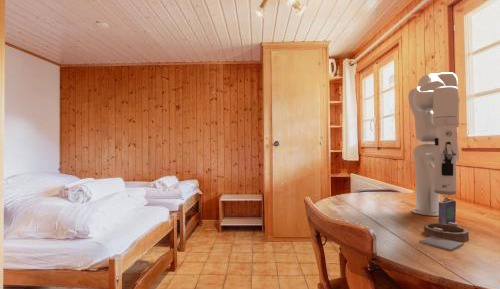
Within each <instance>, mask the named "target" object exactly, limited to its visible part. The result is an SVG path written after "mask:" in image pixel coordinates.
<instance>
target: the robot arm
mask: <svg viewBox="0 0 500 289" xmlns="http://www.w3.org/2000/svg"><path fill="white" fill-rule="evenodd" d="M458 84H459V81H458V76H457V75H456V74H455V73H454V72H450V71H449V72H439V73H428V74H425V75H423V76H422V77H420V78H419V80H418V85H417V87H414V88H412V89H410V90H409V92H408V98H407V99H408V104H409V108H410V110H411V112H412V114H413V117H414V128H415V129H414V130H415V138H416V141H417V142H418V143H421V144H419V145H416V146H415V147H414V149H413V154H412V155H413V160H414V161H413V162H414V167H415V168H414V169H415V207H412V208H411V212H412V213H414V214H417V215H423V216H431V217H439V202H440V201H441V199H440V198H441V194H438V193H435V192H434V188H435V187H434V148H435V138H438V145H439V153H440V155H442V160H443V164H442V175H443V176H453V156H452V151H453V154H455V155H454V156H456V165H457V164H458V163H459V161H460V150H459V143H458V142H459V141H458V133H457V128H458V127H460V126H459V124H460V120H459V119H460V112H459V111H460V109H459V108H460V92H459V88H458ZM422 143H423V144H422ZM446 152H447V154H444V153H446Z"/></svg>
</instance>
